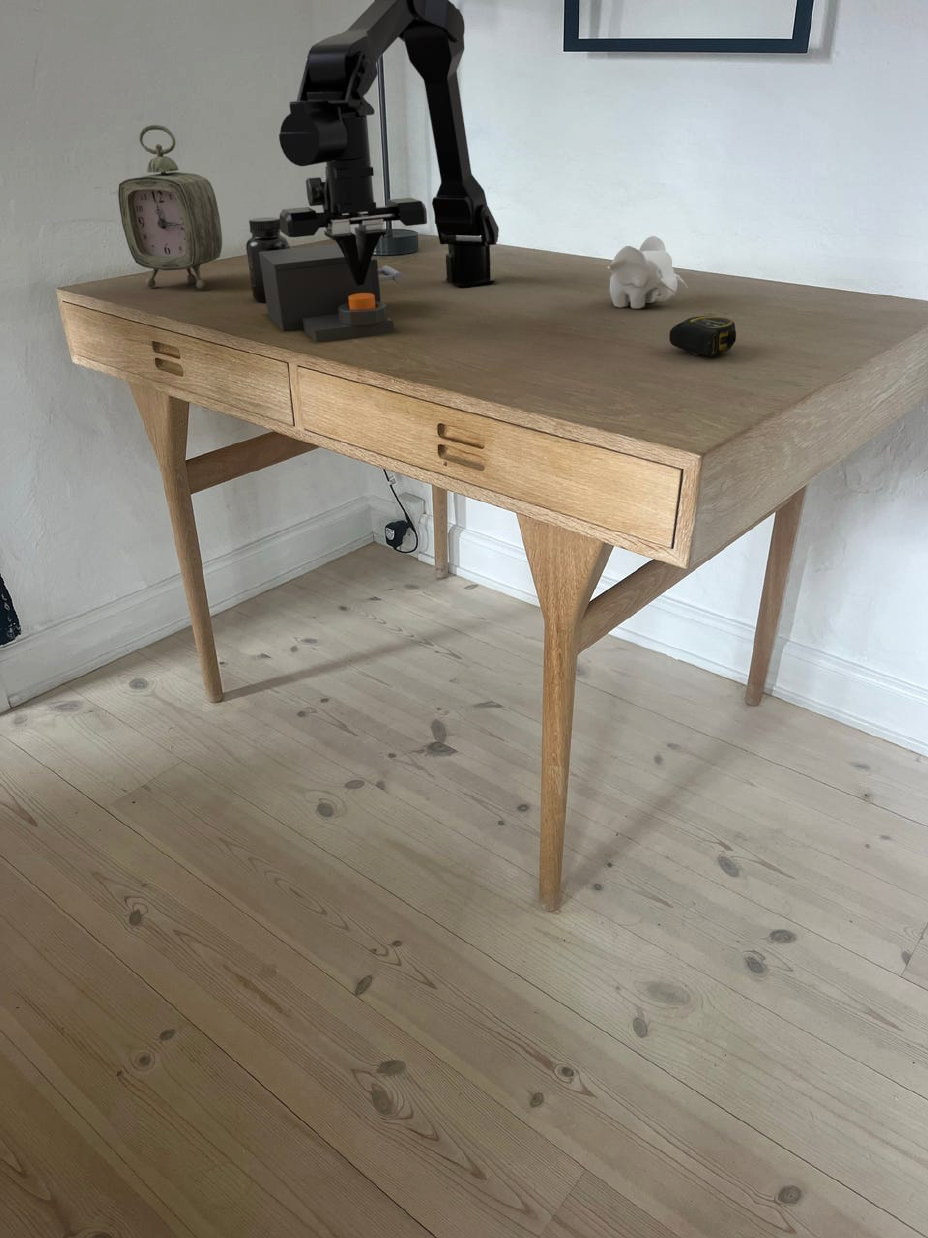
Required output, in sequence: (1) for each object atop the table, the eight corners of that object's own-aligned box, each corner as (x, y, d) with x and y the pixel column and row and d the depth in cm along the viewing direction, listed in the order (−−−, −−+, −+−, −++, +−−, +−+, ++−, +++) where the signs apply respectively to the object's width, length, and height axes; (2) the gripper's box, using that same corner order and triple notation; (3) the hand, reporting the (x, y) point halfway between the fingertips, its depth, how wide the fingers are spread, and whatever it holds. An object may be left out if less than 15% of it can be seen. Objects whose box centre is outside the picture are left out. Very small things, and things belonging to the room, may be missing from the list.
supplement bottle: (287, 303, 146) (276, 222, 140) (247, 302, 147) (234, 222, 141) (301, 293, 152) (292, 215, 146) (263, 293, 153) (251, 215, 147)
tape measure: (665, 351, 114) (667, 321, 112) (703, 341, 117) (706, 311, 115) (706, 363, 109) (709, 331, 107) (745, 352, 112) (749, 321, 110)
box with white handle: (388, 294, 144) (384, 245, 140) (409, 307, 136) (405, 255, 132) (283, 307, 139) (276, 257, 136) (298, 322, 131) (291, 268, 127)
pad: (377, 320, 134) (375, 295, 132) (395, 333, 127) (393, 307, 125) (303, 330, 131) (300, 304, 129) (318, 344, 124) (314, 317, 122)
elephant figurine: (668, 316, 129) (673, 249, 125) (591, 308, 135) (593, 243, 130) (693, 301, 136) (699, 237, 131) (619, 294, 142) (622, 233, 137)
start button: (371, 304, 129) (370, 291, 128) (378, 309, 126) (377, 296, 125) (346, 307, 128) (345, 294, 127) (353, 313, 125) (352, 299, 124)
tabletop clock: (136, 289, 160) (101, 127, 147) (168, 278, 167) (138, 123, 154) (205, 292, 155) (175, 126, 142) (235, 282, 162) (209, 121, 149)
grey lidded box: (354, 304, 144) (347, 242, 139) (375, 319, 134) (369, 254, 130) (267, 314, 140) (258, 251, 135) (283, 331, 130) (274, 264, 126)
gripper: (398, 148, 126) (406, 268, 134) (263, 159, 121) (280, 282, 129) (424, 154, 117) (431, 281, 125) (280, 165, 112) (297, 297, 120)
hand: (360, 285), depth 125 cm, fingers closed
